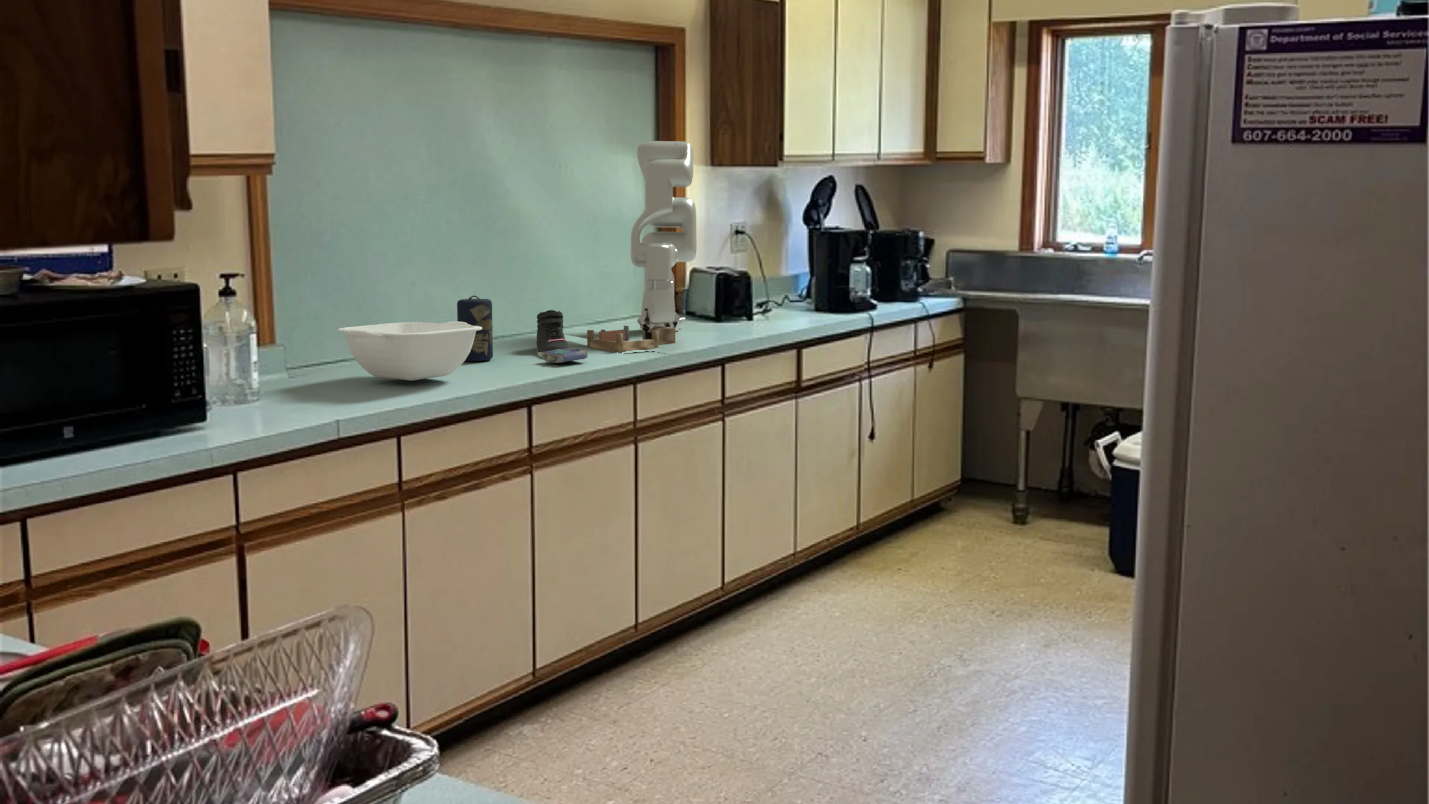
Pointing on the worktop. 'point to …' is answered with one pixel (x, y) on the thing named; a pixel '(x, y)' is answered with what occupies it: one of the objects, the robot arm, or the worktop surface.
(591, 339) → the frame
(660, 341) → the seat block
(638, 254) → the robot arm
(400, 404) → the worktop surface
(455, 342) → the white bowl
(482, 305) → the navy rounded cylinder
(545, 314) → the sneaker
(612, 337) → the rail
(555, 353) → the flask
